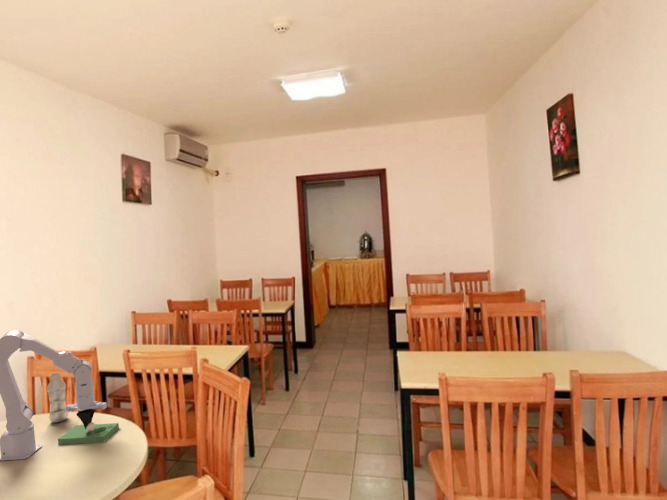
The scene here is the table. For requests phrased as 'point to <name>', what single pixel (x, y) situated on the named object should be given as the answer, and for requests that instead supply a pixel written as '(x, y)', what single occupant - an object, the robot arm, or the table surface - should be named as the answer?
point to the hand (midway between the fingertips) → (88, 427)
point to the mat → (88, 434)
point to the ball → (91, 426)
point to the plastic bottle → (57, 398)
